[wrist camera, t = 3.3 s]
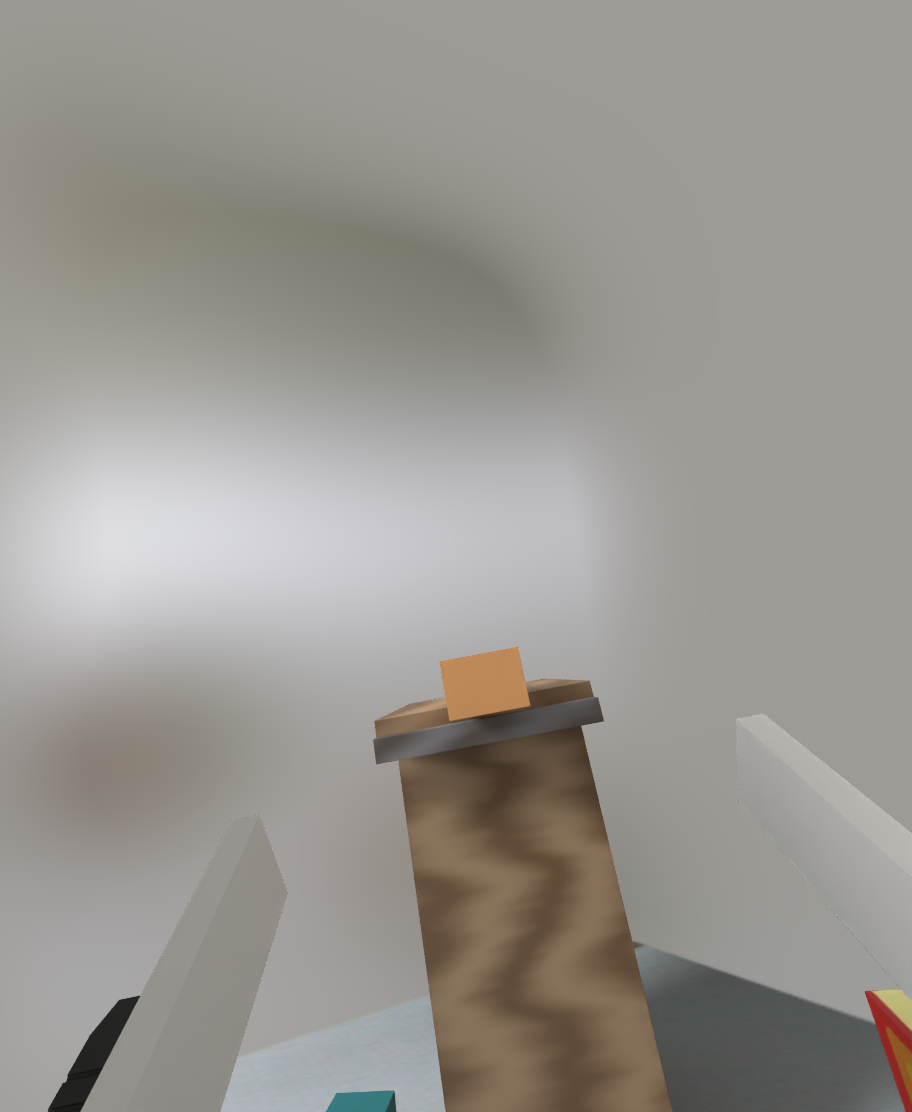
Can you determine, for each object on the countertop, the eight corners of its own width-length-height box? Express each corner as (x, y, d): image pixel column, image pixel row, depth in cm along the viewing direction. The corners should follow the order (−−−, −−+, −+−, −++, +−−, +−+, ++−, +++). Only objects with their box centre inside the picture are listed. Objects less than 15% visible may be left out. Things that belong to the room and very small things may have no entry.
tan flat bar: (449, 721, 19) (439, 661, 20) (459, 695, 44) (455, 669, 45) (530, 705, 19) (517, 646, 20) (495, 688, 44) (489, 663, 45)
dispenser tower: (458, 1430, 20) (371, 722, 28) (462, 1068, 38) (409, 704, 46) (764, 1362, 20) (593, 680, 28) (623, 1035, 39) (543, 678, 46)
